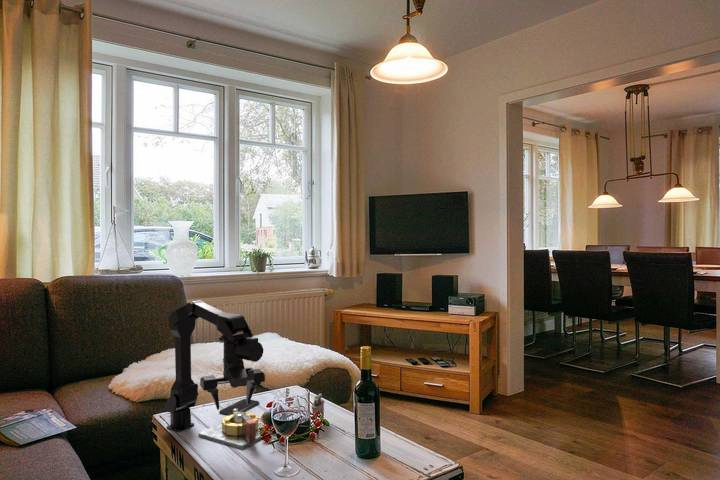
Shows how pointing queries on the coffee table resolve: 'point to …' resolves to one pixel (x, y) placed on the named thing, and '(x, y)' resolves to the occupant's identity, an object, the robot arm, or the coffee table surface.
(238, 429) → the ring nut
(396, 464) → the coffee table surface
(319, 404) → the lighter
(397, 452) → the coffee table surface
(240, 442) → the grey base plate
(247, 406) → the phone
